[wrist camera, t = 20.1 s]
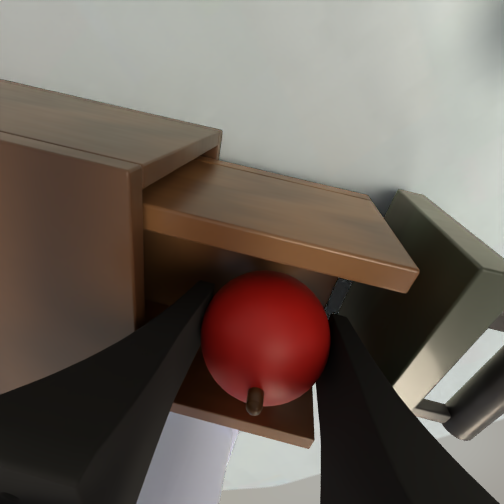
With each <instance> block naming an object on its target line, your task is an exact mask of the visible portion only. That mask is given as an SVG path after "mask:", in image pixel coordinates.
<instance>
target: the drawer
mask: <svg viewBox="0 0 504 504" xmlns="http://www.w3.org/2000/svg"><path fill="white" fill-rule="evenodd" d="M142 202H143V249H144V295H145V324H146V323H148V322H149V321H151V320H152V319H153V318H155V317H156V316H158V315H159V314H160V313H162V312H163V311H164V310H166V309H167V308H168V307H169V306H171V305H172V304H173V303H174V302H175V301H177V300H178V299H179V298H180V297H181V296H183V295H184V294H185V293H186V292H187V291H188V290H189V289H190V288H192V287H193V286H194V285H195V284H196V283H197V282H198V281H200V280H202V281H206V282H210V283H214V284H215V287H214V293H213V297H214V295H215V294H216V293H217V292H218V291H219V290H220V288H221V287H223V286H224V285H225V284H226V283H228V282H229V281H230V280H232V279H234V278H235V277H237V276H240V275H242V274H245V273H248V272H252V271H258V270H270V271H277V272H281V273H285V274H288V275H290V276H292V277H294V278H296V279H298V280H299V281H301V282H302V283H303V284H305V285H306V286H307V287H308V288H309V289H310V290H311V291H312V292H313V293H314V294H315V295H316V297H317V298H318V299H319V301H320V303H321V304H322V306H323V308H325V306H326V304H327V302H328V299H329V297H330V295H331V293H332V290H333V288H334V286H335V284H336V281H337V279H338V277H339V278H343V279H347V280H351V281H353V283H352V285H351V287H350V289H349V291H348V293H347V295H346V297H345V299H344V301H343V303H342V306H341V308H340V310H339V312H338V315H341V316H345V317H347V318H348V320H349V321H350V323H351V325H352V326H353V328H354V329H355V331H356V333H357V334H358V336H359V338H360V339H361V341H362V343H363V344H364V346H365V347H366V349H367V350H368V352H369V354H370V355H371V357H372V358H373V360H374V361H375V363H376V364H377V366H378V367H379V369H380V370H381V372H382V373H383V375H384V376H385V377H386V379H387V380H388V381H389V383H390V384H391V386H392V387H393V388H394V390H395V391H396V392H397V394H398V395H399V396H400V398H401V399H402V400H403V401H404V403H405V404H406V405H407V406H408V408H409V409H410V410H411V411H412V412H413V414H414V415H415V416H417V417H421V418H424V419H428V420H432V421H436V422H440V423H442V425H443V426H444V427H445V429H446V430H447V431H448V432H449V433H451V434H452V435H453V436H455V437H456V438H458V439H461V440H464V441H468V440H471V439H472V438H473V437H475V436H476V435H477V434H479V433H480V432H481V431H482V430H483V429H485V428H486V427H487V426H488V425H490V424H491V423H492V422H493V421H495V420H496V419H497V418H498V417H500V416H501V415H502V414H503V413H504V346H503V347H502V348H501V349H500V350H499V351H498V352H497V353H496V354H495V355H494V356H493V357H492V358H491V359H490V360H489V361H488V362H487V363H486V364H485V365H484V366H483V367H482V368H481V369H480V370H479V371H478V372H477V373H476V374H475V375H474V376H473V377H472V378H471V379H470V380H469V381H468V382H467V383H466V384H465V385H464V386H463V387H462V388H461V389H460V390H459V391H458V392H457V393H456V394H455V395H454V396H453V397H452V398H451V399H450V400H449V401H448V402H447V403H446V404H442V403H438V402H434V401H430V400H427V399H424V398H425V396H426V395H427V394H428V393H429V392H430V391H431V390H432V389H433V388H434V387H435V386H436V384H437V383H438V382H439V381H440V380H441V379H442V378H443V377H444V376H445V375H446V373H447V372H448V371H449V370H450V369H451V368H452V367H453V366H454V365H455V364H456V363H457V361H458V360H459V359H460V358H461V357H462V356H463V355H464V354H465V353H466V352H467V350H468V349H469V348H470V347H471V346H472V345H473V344H474V343H475V342H476V341H477V340H478V338H479V337H480V336H481V335H482V334H483V333H484V332H485V331H486V330H487V329H488V328H490V329H494V330H498V331H502V332H504V258H503V257H501V256H500V255H499V254H498V253H496V252H495V251H494V250H493V249H491V248H490V247H489V246H488V245H486V244H485V243H484V242H482V241H481V240H480V239H479V238H477V237H476V236H475V235H474V234H472V233H471V232H470V231H469V230H467V229H466V228H465V227H464V226H462V225H461V224H460V223H458V222H457V221H456V220H455V219H453V218H452V217H451V216H450V215H448V214H447V213H446V212H445V211H443V210H442V209H441V208H440V207H438V206H437V205H436V204H435V203H433V202H432V201H431V200H429V199H428V198H427V197H426V196H424V195H422V194H418V193H413V192H409V191H405V190H401V189H398V190H397V192H396V194H395V196H394V198H393V200H392V202H391V204H390V206H389V208H388V211H387V213H386V215H385V217H384V218H383V216H382V215H381V213H380V212H379V211H378V209H377V208H376V206H375V205H374V203H373V202H372V200H371V199H370V197H369V196H368V195H365V194H361V193H357V192H352V191H348V190H344V189H340V188H335V187H331V186H327V185H323V184H318V183H314V182H310V181H306V180H301V179H297V178H293V177H288V176H284V175H280V174H276V173H271V172H267V171H263V170H259V169H254V168H250V167H246V166H241V165H237V164H233V163H229V162H224V161H220V160H216V159H212V158H207V157H203V156H198V157H197V158H195V159H193V160H192V161H190V162H188V163H186V164H185V165H183V166H181V167H180V168H178V169H176V170H175V171H173V172H171V173H170V174H168V175H166V176H164V177H163V178H161V179H159V180H158V181H156V182H154V183H153V184H151V185H149V186H147V187H146V188H144V189H142ZM170 412H173V413H177V414H181V415H185V416H188V417H192V418H196V419H199V420H203V421H207V422H211V423H214V424H218V425H222V426H225V427H229V428H233V429H237V430H240V431H244V432H248V433H251V434H255V435H259V436H263V437H266V438H270V439H274V440H277V441H281V442H285V443H289V444H292V445H296V446H300V447H303V448H307V449H309V448H310V447H311V445H312V443H313V442H314V417H313V394H312V387H311V388H310V389H309V390H308V391H307V392H305V393H304V394H303V395H301V396H300V397H298V398H297V399H295V400H292V401H290V402H288V403H285V404H281V405H276V406H263V409H262V411H261V413H260V414H259V415H256V416H253V415H250V414H249V413H248V412H247V410H246V403H245V402H243V401H240V400H238V399H236V398H235V397H233V396H231V395H230V394H228V393H227V392H226V391H225V390H224V389H222V388H221V386H220V385H219V384H218V383H217V382H216V381H215V380H214V378H213V377H212V375H211V373H210V372H209V370H208V368H207V366H206V363H205V361H204V358H203V354H202V349H201V345H200V347H199V349H198V351H197V353H196V355H195V357H194V359H193V361H192V363H191V365H190V368H189V370H188V372H187V374H186V376H185V378H184V380H183V382H182V384H181V386H180V388H179V390H178V393H177V395H176V397H175V399H174V402H173V404H172V407H171V409H170Z"/></svg>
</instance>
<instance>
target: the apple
mask: <svg viewBox="0 0 504 504" xmlns="http://www.w3.org/2000/svg"><path fill="white" fill-rule="evenodd" d="M330 345H331V336H330V327H329V322H328V318H327V315H326V313H325V310H324V308H323V306H322V304H321V303H320V301H319V299H318V298H317V297H316V295H315V294H314V293H313V292H312V291H311V290H310V289H309V288H308V287H307V286H306V285H305V284H303V283H302V282H301V281H299V280H298V279H296V278H294V277H292V276H290V275H288V274H285V273H281V272H277V271H270V270H258V271H252V272H248V273H245V274H242V275H240V276H237V277H235V278H234V279H232V280H230V281H229V282H228V283H226V284H225V285H224V286H223V287H221V288H220V290H219V291H218V292H217V293H216V294H215V295H214V297H213V298H212V300H211V301H210V303H209V305H208V307H207V309H206V312H205V314H204V317H203V321H202V326H201V349H202V354H203V358H204V361H205V363H206V366H207V368H208V370H209V372H210V373H211V375H212V377H213V378H214V380H215V381H216V382H217V383H218V384H219V385H220V386H221V388H222V389H224V390H225V391H226V392H227V393H228V394H230V395H231V396H233V397H235V398H236V399H238V400H240V401H243V402H245V403H246V410H247V412H248V413H249V414H250V415H253V416H256V415H259V414H260V413H261V411H262V409H263V406H276V405H281V404H285V403H288V402H290V401H292V400H295V399H297V398H298V397H300V396H301V395H303V394H304V393H305V392H307V391H308V390H309V389H310V388H311V387H312V386H313V385H314V384H315V382H316V381H317V380H318V379H319V377H320V376H321V374H322V372H323V370H324V368H325V366H326V363H327V360H328V357H329V352H330Z"/></svg>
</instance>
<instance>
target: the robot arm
mask: <svg viewBox="0 0 504 504" xmlns="http://www.w3.org/2000/svg"><path fill="white" fill-rule="evenodd" d="M214 287H215V284H214V283H210V282H206V281H202V280H200V281H198V282H197V283H196V284H195V285H194V286H193V287H192V288H190V289H189V290H188V291H187V292H186V293H185V294H184V295H183V296H181V297H180V298H179V299H178V300H177V301H175V302H174V303H173V304H172V305H171V306H169V307H168V308H167V309H166V310H164V311H163V312H162V313H160V314H159V315H158V316H156V317H155V318H153V319H152V320H151V321H149V322H148V323H146V324H145V325H144V326H142V327H141V328H139V329H138V330H136V331H134V332H133V333H131V334H130V335H128V336H126V337H125V338H123V339H121V340H120V341H118V342H116V343H114V344H113V345H111V346H109V347H107V348H105V349H104V350H102V351H100V352H98V353H96V354H94V355H92V356H90V357H88V358H86V359H84V360H82V361H80V362H78V363H75V364H73V365H71V366H69V367H67V368H65V369H63V370H60V371H58V372H56V373H54V374H51V375H49V376H47V377H44V378H42V379H39V380H37V381H34V382H32V383H29V384H26V385H24V386H21V387H19V388H16V389H14V390H11V391H8V392H6V393H3V394H0V504H219V502H220V497H221V492H222V487H223V482H224V477H225V472H226V467H227V463H229V460H230V457H231V454H232V451H233V448H234V445H235V442H236V439H237V435H238V432H239V430H237V429H233V428H229V427H225V426H222V425H218V424H214V423H211V422H207V421H203V420H199V419H196V418H192V417H188V416H185V415H181V414H177V413H173V412H170V409H171V407H172V404H173V402H174V399H175V397H176V395H177V393H178V390H179V388H180V386H181V384H182V382H183V380H184V378H185V376H186V374H187V372H188V370H189V368H190V365H191V363H192V361H193V359H194V357H195V355H196V353H197V351H198V349H199V347H200V345H201V326H202V321H203V317H204V314H205V312H206V309H207V307H208V305H209V303H210V301H211V300H212V298H213V293H214ZM328 322H329V327H330V336H331V345H330V352H329V357H328V360H327V363H326V366H325V368H324V370H323V372H322V374H321V376H320V377H319V379H318V380H317V381H316V390H317V401H318V412H319V423H320V436H321V497H320V504H499V502H497V501H496V500H495V499H494V498H493V497H492V496H491V495H490V494H489V493H488V492H487V491H486V490H485V489H484V488H483V487H482V486H481V485H480V484H479V483H478V482H477V481H476V480H475V479H474V478H473V477H472V476H471V475H469V474H468V473H467V472H466V471H465V470H464V468H462V466H460V464H459V463H458V462H457V461H456V460H455V459H454V458H453V457H452V456H451V455H450V454H449V453H448V452H447V451H446V450H445V449H444V448H443V447H442V445H441V444H440V443H439V442H438V441H437V440H436V439H435V438H434V437H433V436H432V435H431V434H430V432H429V431H428V430H427V429H426V428H425V427H424V426H423V424H422V423H421V422H420V421H419V420H418V418H417V417H416V416H415V415H414V414H413V412H412V411H411V410H410V409H409V408H408V406H407V405H406V404H405V403H404V401H403V400H402V399H401V398H400V396H399V395H398V394H397V392H396V391H395V390H394V388H393V387H392V386H391V384H390V383H389V381H388V380H387V379H386V377H385V376H384V375H383V373H382V372H381V370H380V369H379V367H378V366H377V364H376V363H375V361H374V360H373V358H372V357H371V355H370V354H369V352H368V350H367V349H366V347H365V346H364V344H363V343H362V341H361V339H360V338H359V336H358V334H357V333H356V331H355V329H354V328H353V326H352V325H351V323H350V321H349V320H348V318H347V317H345V316H341V315H338V314H334V313H331V315H330V318H329V320H328Z"/></svg>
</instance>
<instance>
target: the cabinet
mask: <svg viewBox="0 0 504 504" xmlns="http://www.w3.org/2000/svg"><path fill="white" fill-rule="evenodd" d="M221 138H222V130H219V129H215V128H210V127H206V126H202V125H197V124H193V123H189V122H184V121H180V120H176V119H171V118H167V117H163V116H158V115H154V114H150V113H145V112H141V111H137V110H132V109H128V108H124V107H119V106H115V105H110V104H106V103H102V102H97V101H93V100H89V99H84V98H80V97H76V96H71V95H67V94H63V93H58V92H54V91H50V90H45V89H41V88H37V87H32V86H28V85H24V84H19V83H15V82H11V81H6V80H2V79H0V394H3V393H6V392H8V391H11V390H14V389H16V388H19V387H21V386H24V385H26V384H29V383H32V382H34V381H37V380H39V379H42V378H44V377H47V376H49V375H51V374H54V373H56V372H58V371H60V370H63V369H65V368H67V367H69V366H71V365H73V364H75V363H78V362H80V361H82V360H84V359H86V358H88V357H90V356H92V355H94V354H96V353H98V352H100V351H102V350H104V349H105V348H107V347H109V346H111V345H113V344H114V343H116V342H118V341H120V340H121V339H123V338H125V337H126V336H128V335H130V334H131V333H133V332H134V331H136V330H138V329H139V328H141V327H142V326H144V325H145V295H144V249H143V202H142V189H144V188H146V187H147V186H149V185H151V184H153V183H154V182H156V181H158V180H159V179H161V178H163V177H164V176H166V175H168V174H170V173H171V172H173V171H175V170H176V169H178V168H180V167H181V166H183V165H185V164H186V163H188V162H190V161H192V160H193V159H195V158H197V157H198V156H203V157H207V158H212V159H216V160H219V154H220V146H221Z"/></svg>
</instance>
